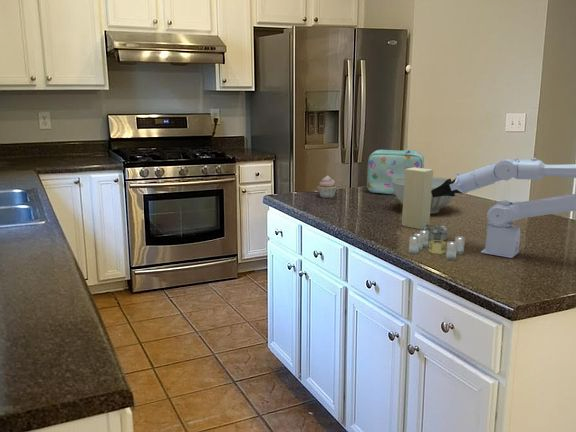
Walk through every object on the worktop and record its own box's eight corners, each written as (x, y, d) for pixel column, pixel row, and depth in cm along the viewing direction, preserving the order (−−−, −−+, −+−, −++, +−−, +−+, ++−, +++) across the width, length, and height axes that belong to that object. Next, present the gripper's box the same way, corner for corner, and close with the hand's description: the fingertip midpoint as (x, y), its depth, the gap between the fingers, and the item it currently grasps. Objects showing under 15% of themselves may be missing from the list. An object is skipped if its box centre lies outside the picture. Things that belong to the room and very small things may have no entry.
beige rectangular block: (431, 225, 209) (434, 169, 204) (420, 229, 204) (423, 171, 199) (411, 222, 214) (414, 166, 210) (401, 225, 209) (404, 169, 204)
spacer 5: (464, 252, 176) (466, 237, 175) (461, 254, 174) (463, 239, 173) (456, 251, 178) (457, 235, 177) (452, 253, 175) (454, 237, 174)
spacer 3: (429, 245, 184) (430, 230, 183) (425, 247, 181) (426, 232, 180) (420, 244, 185) (421, 229, 184) (417, 246, 183) (418, 231, 182)
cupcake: (331, 194, 268) (331, 173, 265) (341, 198, 259) (341, 176, 257) (313, 196, 264) (313, 174, 262) (322, 199, 256) (323, 177, 253)
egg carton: (421, 232, 201) (422, 221, 200) (443, 233, 200) (444, 222, 199) (424, 240, 190) (425, 228, 189) (448, 241, 189) (448, 229, 188)
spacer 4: (457, 258, 171) (458, 242, 169) (453, 260, 168) (455, 244, 167) (448, 256, 172) (449, 240, 171) (444, 258, 170) (445, 242, 169)
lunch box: (425, 193, 270) (428, 148, 266) (423, 197, 261) (426, 150, 256) (369, 190, 278) (371, 146, 274) (365, 194, 269) (367, 148, 264)
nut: (446, 250, 178) (447, 240, 178) (445, 254, 174) (445, 244, 173) (429, 249, 180) (429, 239, 179) (427, 253, 176) (428, 243, 175)
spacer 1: (419, 252, 176) (420, 236, 175) (415, 254, 174) (416, 238, 173) (411, 251, 178) (411, 235, 177) (407, 253, 176) (408, 237, 174)
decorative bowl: (455, 220, 218) (457, 189, 215) (385, 215, 226) (386, 185, 223) (458, 206, 242) (460, 178, 240) (395, 202, 251) (396, 174, 248)
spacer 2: (423, 248, 180) (424, 233, 179) (420, 250, 178) (421, 235, 177) (415, 247, 182) (416, 232, 181) (411, 249, 179) (412, 234, 178)
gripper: (479, 165, 182) (439, 179, 189) (465, 168, 170) (424, 183, 177) (486, 186, 181) (446, 199, 189) (473, 190, 169) (431, 204, 177)
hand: (436, 193), depth 183 cm, fingers open, 7 cm apart
